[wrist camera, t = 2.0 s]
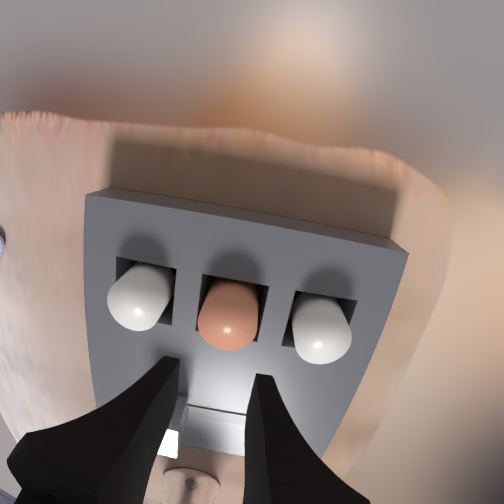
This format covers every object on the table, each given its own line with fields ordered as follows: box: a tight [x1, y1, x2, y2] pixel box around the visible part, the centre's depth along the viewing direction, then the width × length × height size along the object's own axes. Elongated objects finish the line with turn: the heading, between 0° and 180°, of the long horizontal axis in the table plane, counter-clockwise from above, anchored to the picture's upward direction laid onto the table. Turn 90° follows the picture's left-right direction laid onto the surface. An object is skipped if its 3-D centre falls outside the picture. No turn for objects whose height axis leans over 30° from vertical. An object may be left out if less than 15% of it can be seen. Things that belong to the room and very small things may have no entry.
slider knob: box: [157, 395, 188, 458], centre depth 18 cm, size 2×3×3 cm
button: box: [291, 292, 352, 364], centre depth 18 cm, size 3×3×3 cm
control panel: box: [84, 188, 409, 459], centre depth 20 cm, size 18×18×3 cm
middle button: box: [198, 277, 259, 351], centre depth 18 cm, size 3×3×3 cm
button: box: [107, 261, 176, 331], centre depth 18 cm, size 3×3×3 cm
